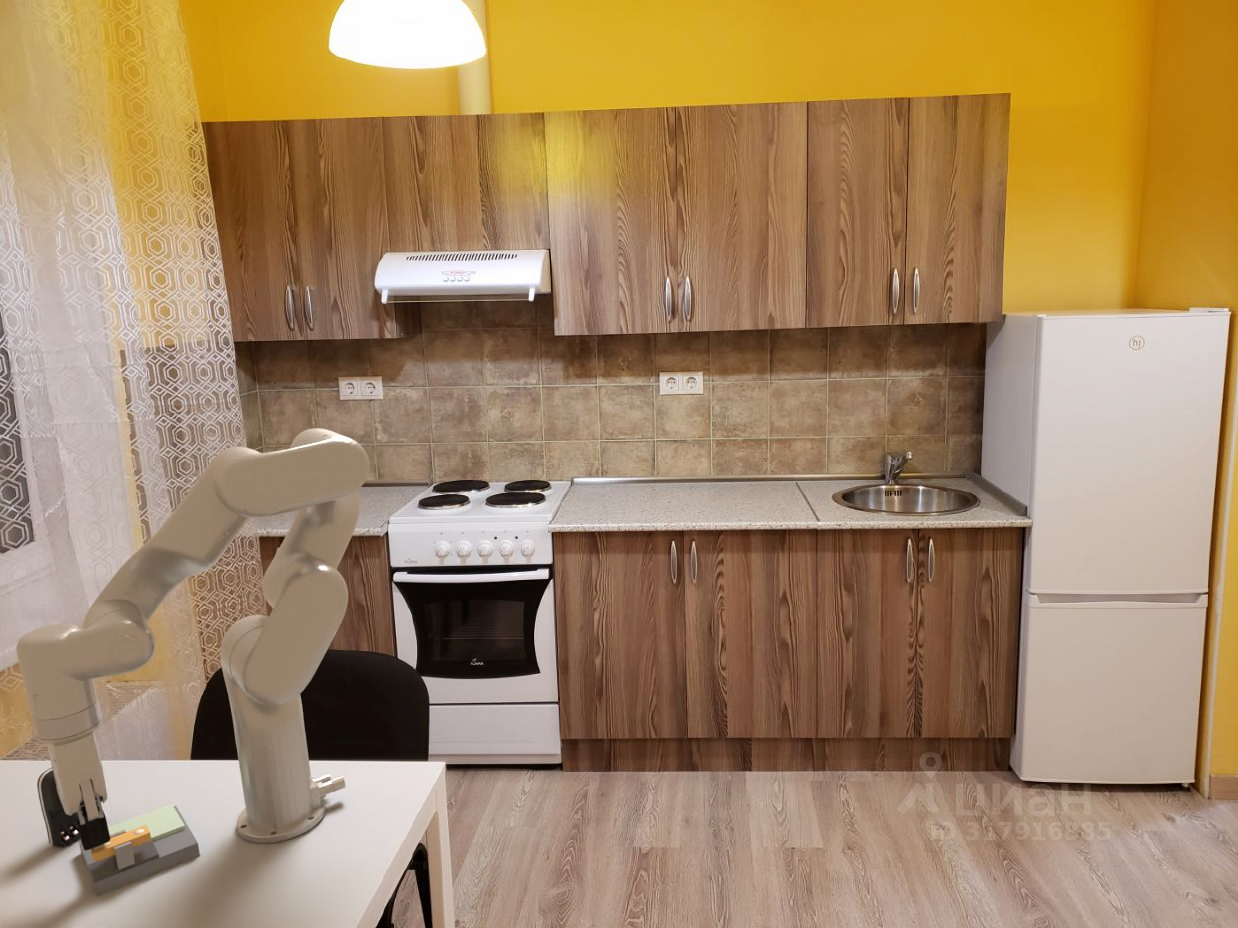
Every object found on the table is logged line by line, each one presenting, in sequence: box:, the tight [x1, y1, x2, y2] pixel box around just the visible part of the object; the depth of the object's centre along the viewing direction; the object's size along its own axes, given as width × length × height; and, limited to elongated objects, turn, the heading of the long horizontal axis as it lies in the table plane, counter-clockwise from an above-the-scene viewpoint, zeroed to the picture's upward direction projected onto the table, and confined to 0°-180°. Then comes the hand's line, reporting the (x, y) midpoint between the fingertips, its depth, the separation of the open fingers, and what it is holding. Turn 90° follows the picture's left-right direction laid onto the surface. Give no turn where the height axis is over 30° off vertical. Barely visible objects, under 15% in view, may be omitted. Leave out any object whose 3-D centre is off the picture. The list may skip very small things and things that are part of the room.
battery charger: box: [36, 767, 81, 848], centre depth 137 cm, size 7×4×11 cm, turn 157°
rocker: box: [90, 825, 151, 862], centre depth 127 cm, size 7×2×1 cm, turn 128°
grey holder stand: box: [78, 803, 201, 897], centre depth 132 cm, size 13×12×6 cm
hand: (96, 843), depth 125 cm, fingers closed
